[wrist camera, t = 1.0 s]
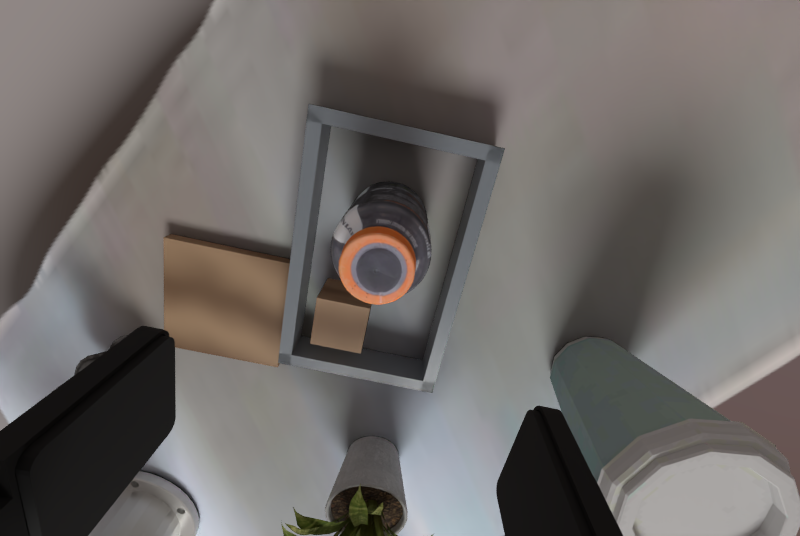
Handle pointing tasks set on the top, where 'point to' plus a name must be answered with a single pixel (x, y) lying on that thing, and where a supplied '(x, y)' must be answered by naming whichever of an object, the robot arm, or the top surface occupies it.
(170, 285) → the pad
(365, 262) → the pill bottle
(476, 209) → the bin
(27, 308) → the top surface
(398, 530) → the house plant
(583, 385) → the disposable coffee cup
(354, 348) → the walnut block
